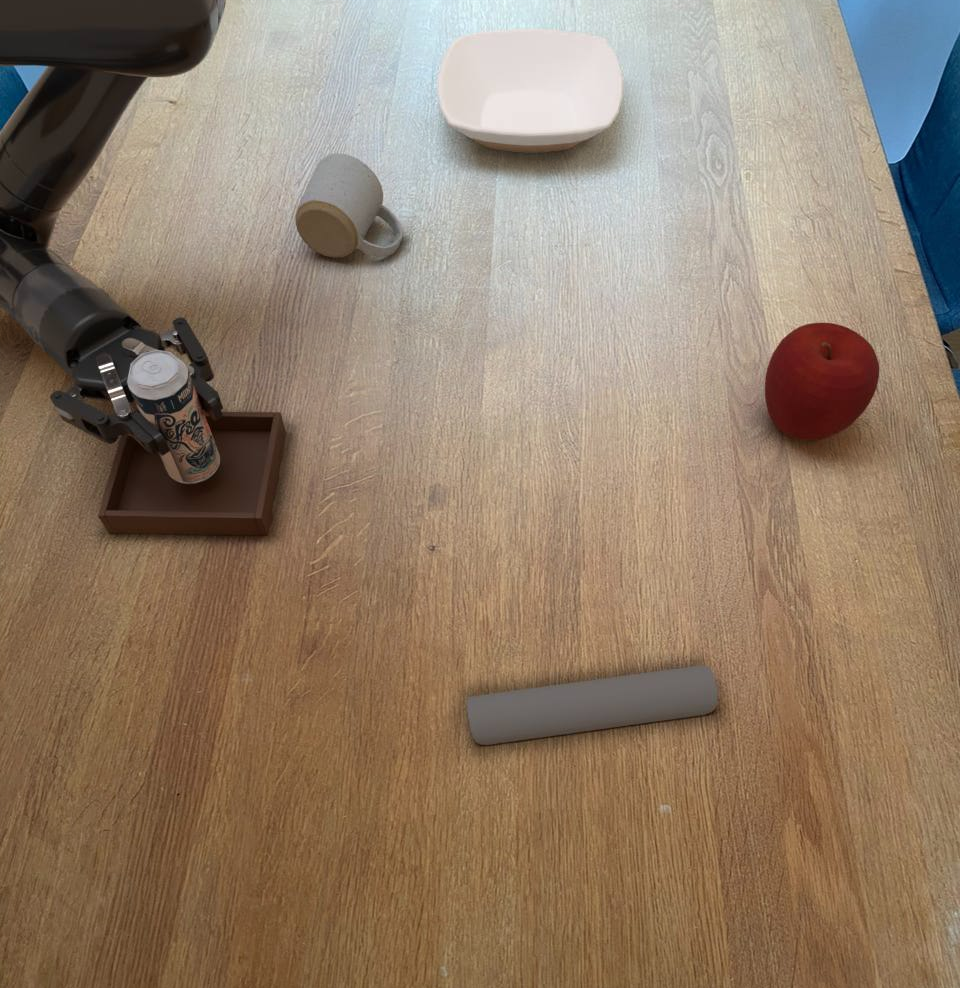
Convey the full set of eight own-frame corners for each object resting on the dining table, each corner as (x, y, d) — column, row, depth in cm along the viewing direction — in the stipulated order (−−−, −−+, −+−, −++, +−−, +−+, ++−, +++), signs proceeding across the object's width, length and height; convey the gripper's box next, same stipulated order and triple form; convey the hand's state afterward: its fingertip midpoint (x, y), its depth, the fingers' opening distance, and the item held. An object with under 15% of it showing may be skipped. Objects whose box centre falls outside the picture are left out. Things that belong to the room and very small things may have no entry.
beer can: (197, 495, 83) (156, 398, 72) (156, 473, 84) (110, 375, 74) (232, 459, 85) (197, 360, 74) (191, 438, 86) (151, 338, 76)
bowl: (444, 70, 120) (442, 27, 115) (615, 72, 119) (620, 29, 114) (433, 176, 109) (431, 132, 104) (621, 179, 108) (627, 135, 103)
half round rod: (718, 713, 74) (723, 703, 72) (471, 747, 72) (471, 738, 71) (703, 666, 76) (708, 655, 74) (464, 698, 75) (463, 688, 73)
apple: (823, 377, 92) (857, 294, 83) (873, 448, 87) (915, 368, 79) (735, 399, 91) (760, 317, 82) (780, 473, 86) (813, 394, 77)
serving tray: (108, 533, 83) (97, 515, 81) (137, 429, 89) (128, 409, 87) (267, 536, 83) (261, 518, 81) (285, 431, 89) (280, 412, 87)
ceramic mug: (296, 257, 102) (284, 193, 95) (322, 210, 106) (312, 145, 99) (390, 274, 100) (384, 210, 94) (412, 226, 104) (408, 162, 98)
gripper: (157, 318, 89) (268, 414, 83) (25, 397, 84) (132, 506, 78) (132, 251, 83) (250, 350, 77) (-14, 333, 78) (100, 446, 72)
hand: (190, 428), depth 77 cm, fingers closed on beer can, 4 cm apart
